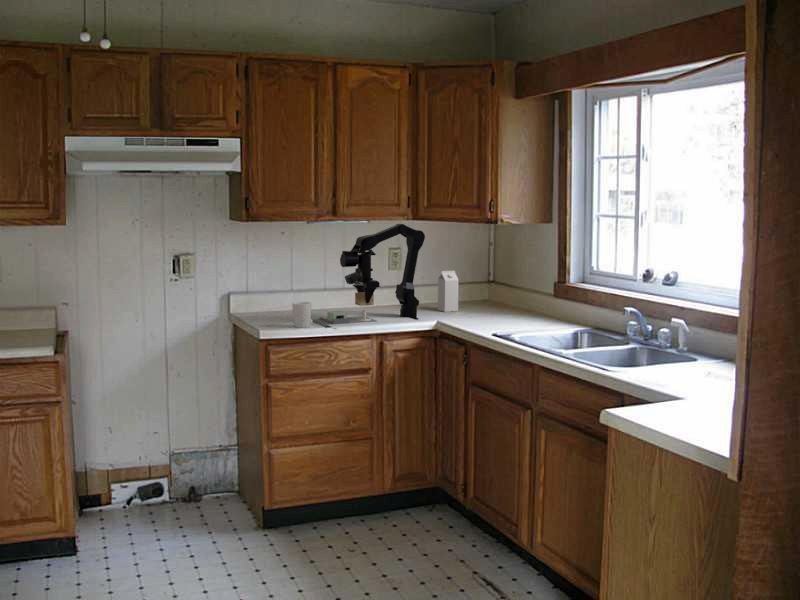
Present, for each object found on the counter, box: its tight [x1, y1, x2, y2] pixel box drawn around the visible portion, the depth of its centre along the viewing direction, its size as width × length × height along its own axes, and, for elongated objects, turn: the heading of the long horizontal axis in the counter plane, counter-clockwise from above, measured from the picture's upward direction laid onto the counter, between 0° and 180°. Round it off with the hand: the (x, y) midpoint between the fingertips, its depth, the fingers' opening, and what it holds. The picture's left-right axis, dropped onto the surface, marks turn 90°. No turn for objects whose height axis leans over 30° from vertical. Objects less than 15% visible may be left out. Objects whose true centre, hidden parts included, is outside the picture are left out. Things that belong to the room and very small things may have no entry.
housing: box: [326, 310, 348, 322], centre depth 377 cm, size 6×7×4 cm
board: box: [312, 310, 377, 329], centre depth 382 cm, size 24×16×5 cm, turn 116°
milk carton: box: [437, 270, 459, 313], centre depth 418 cm, size 7×7×19 cm
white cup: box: [291, 301, 312, 329], centre depth 372 cm, size 8×8×10 cm
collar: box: [354, 292, 375, 307], centre depth 382 cm, size 6×6×5 cm
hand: (364, 302), depth 383 cm, fingers closed on collar, 6 cm apart
